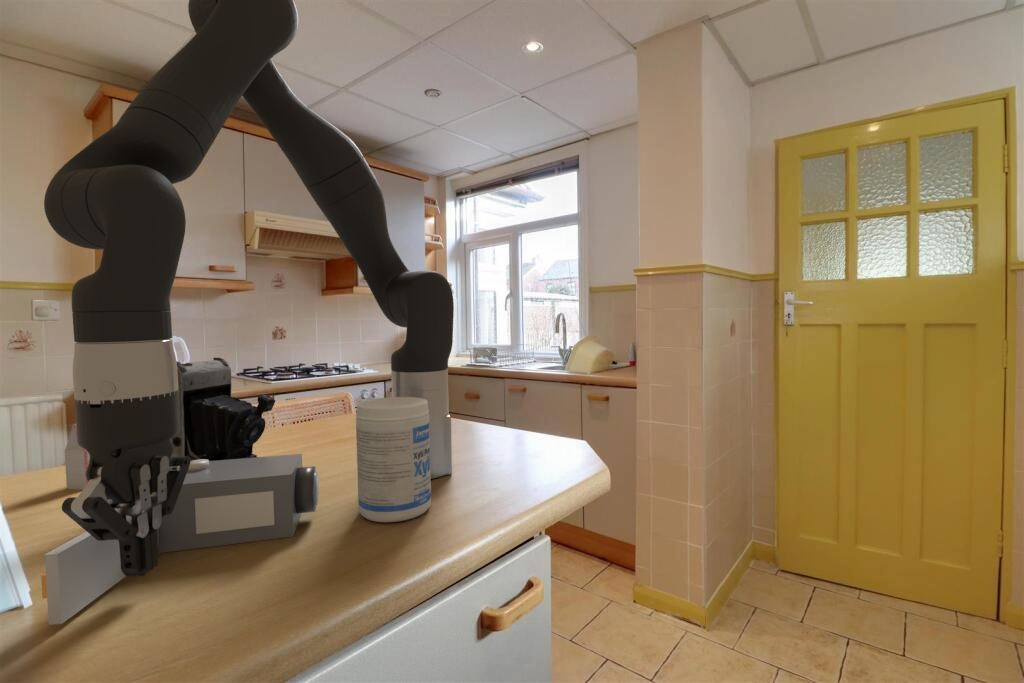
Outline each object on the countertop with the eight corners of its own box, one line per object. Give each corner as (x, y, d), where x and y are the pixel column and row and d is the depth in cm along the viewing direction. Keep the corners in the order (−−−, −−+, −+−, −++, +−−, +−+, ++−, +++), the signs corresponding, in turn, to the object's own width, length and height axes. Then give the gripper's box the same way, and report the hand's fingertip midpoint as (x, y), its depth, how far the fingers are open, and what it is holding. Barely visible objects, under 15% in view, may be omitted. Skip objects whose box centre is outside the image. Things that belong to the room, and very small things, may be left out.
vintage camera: (253, 510, 67) (254, 366, 66) (159, 498, 70) (159, 360, 69) (298, 487, 76) (299, 361, 75) (213, 477, 79) (214, 356, 78)
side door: (63, 626, 41) (58, 551, 40) (38, 627, 41) (34, 552, 40) (162, 551, 54) (159, 494, 53) (143, 552, 53) (141, 495, 53)
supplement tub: (433, 521, 62) (431, 406, 61) (355, 529, 60) (352, 410, 59) (429, 494, 71) (427, 394, 70) (361, 500, 69) (358, 397, 68)
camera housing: (321, 505, 67) (319, 446, 66) (313, 534, 58) (311, 466, 58) (186, 520, 62) (183, 457, 62) (155, 554, 54) (152, 480, 53)
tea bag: (66, 488, 75) (62, 424, 74) (110, 474, 81) (107, 415, 81) (86, 490, 74) (82, 425, 74) (129, 475, 81) (125, 416, 80)
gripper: (141, 380, 51) (151, 540, 52) (15, 404, 38) (32, 617, 39) (213, 379, 51) (221, 538, 52) (112, 402, 38) (126, 615, 39)
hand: (140, 572), depth 46 cm, fingers closed
